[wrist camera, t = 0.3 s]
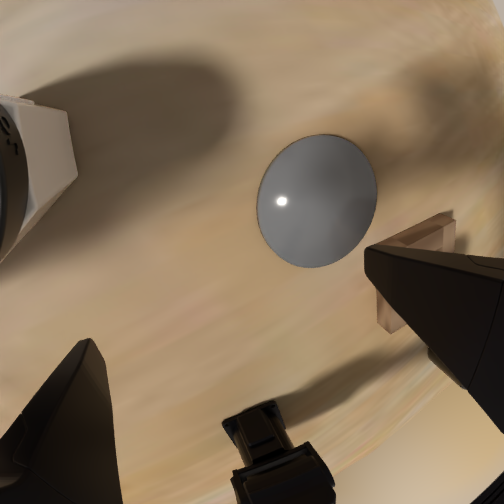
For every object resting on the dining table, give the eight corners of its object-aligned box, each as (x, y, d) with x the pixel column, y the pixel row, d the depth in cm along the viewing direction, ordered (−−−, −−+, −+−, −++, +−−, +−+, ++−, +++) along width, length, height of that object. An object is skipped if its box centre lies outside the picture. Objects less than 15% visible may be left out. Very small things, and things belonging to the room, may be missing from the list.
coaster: (377, 238, 29) (381, 240, 28) (274, 284, 27) (277, 287, 26) (362, 123, 24) (367, 123, 24) (239, 156, 22) (242, 156, 21)
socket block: (436, 286, 35) (450, 295, 33) (377, 322, 34) (390, 334, 31) (439, 213, 31) (455, 220, 29) (373, 245, 29) (390, 254, 27)
